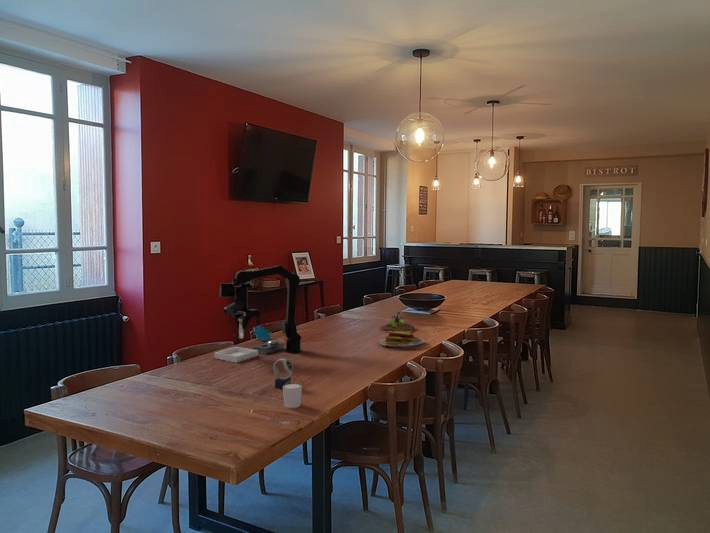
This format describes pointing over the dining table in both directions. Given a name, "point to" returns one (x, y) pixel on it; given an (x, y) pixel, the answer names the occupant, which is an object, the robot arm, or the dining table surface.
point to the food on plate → (401, 339)
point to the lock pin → (241, 328)
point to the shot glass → (292, 395)
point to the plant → (397, 325)
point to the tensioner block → (269, 347)
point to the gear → (262, 333)
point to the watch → (281, 379)
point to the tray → (236, 354)
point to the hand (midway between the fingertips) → (241, 328)
